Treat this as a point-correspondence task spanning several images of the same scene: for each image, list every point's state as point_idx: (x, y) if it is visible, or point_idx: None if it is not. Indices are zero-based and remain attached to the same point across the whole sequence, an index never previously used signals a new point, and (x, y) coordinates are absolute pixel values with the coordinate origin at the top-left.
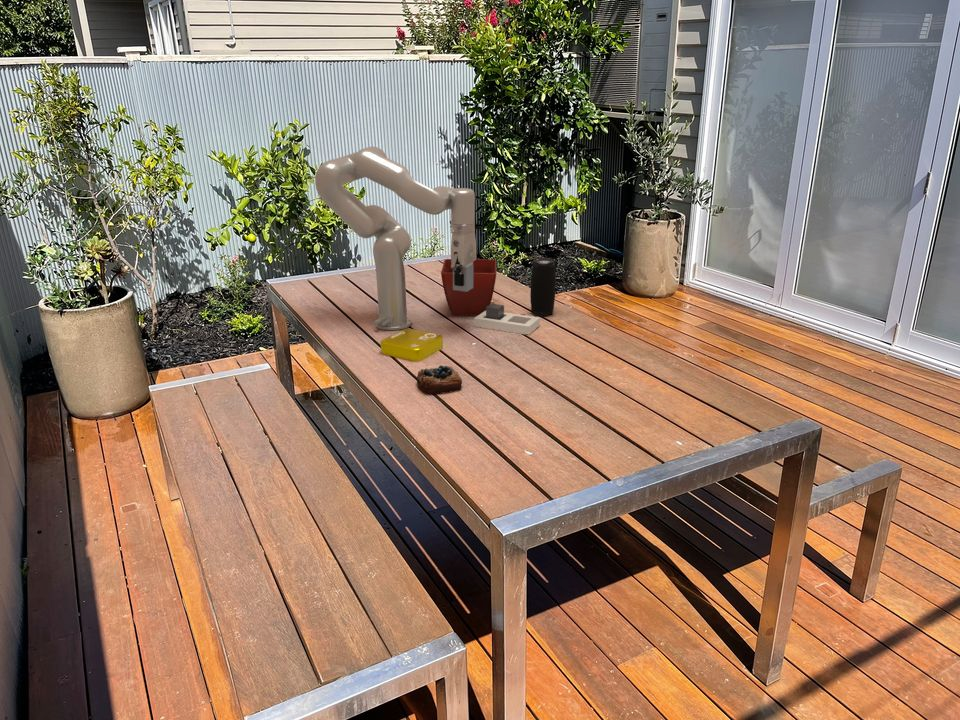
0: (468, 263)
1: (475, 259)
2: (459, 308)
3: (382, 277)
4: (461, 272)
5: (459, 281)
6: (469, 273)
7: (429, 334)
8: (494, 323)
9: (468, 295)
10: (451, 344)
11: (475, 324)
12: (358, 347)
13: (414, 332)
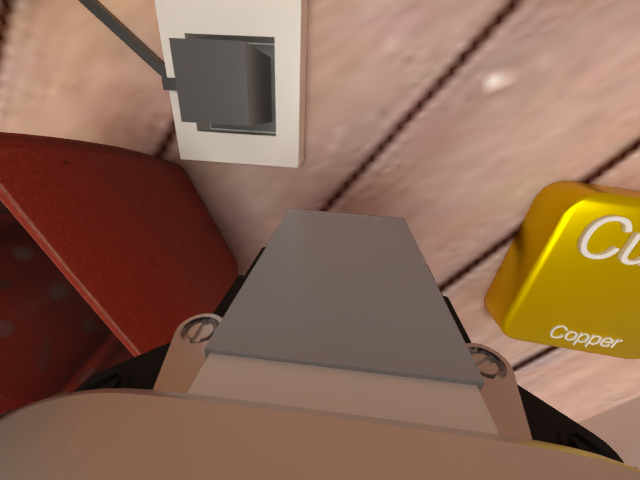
0: (465, 444)
1: (76, 403)
2: (223, 258)
3: None
4: (493, 370)
5: (450, 309)
6: (355, 288)
7: (585, 246)
8: (301, 59)
9: (187, 251)
10: (516, 166)
11: (302, 157)
12: (567, 384)
13: (550, 300)
